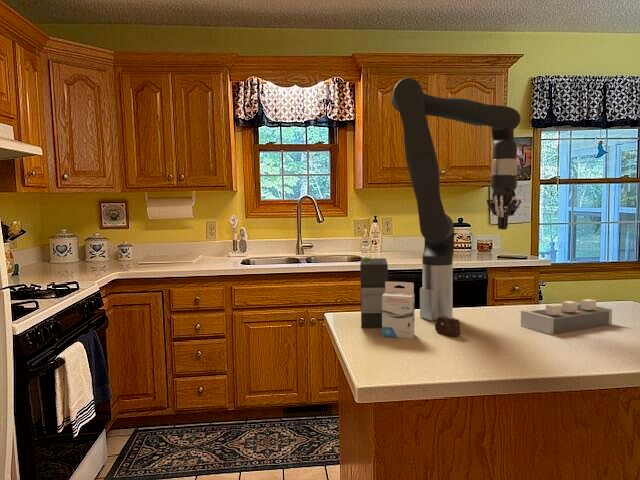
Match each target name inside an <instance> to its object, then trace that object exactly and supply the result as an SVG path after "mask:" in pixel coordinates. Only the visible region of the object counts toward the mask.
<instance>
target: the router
mask: <svg viewBox="0 0 640 480" xmlns="http://www.w3.org/2000/svg"><path fill="white" fill-rule="evenodd" d="M359 265H360V266H359V267H360V269H359V272H360V274H359V275H360V315H361V316H360V321H361V323H360V324H361V326H360V328H362V329H364V328H365V329H382V295H383V294H384V293H385V282H389V280H388V279H389V278H388V277H389V273H388V272H389V271H388V269H389V267H388V261H387V258H385V257H384V258H372V257H371V256H370V257H366V256H364V258H361V259H360V264H359Z"/></svg>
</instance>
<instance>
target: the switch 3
mask: <svg viewBox="0 0 640 480" xmlns="http://www.w3.org/2000/svg"><path fill="white" fill-rule="evenodd" d="M580 302H581V308H582V309H586V310H592V309H596V306H597V300H595V299H592V298H587V299H586V298H585V299H581V300H580Z"/></svg>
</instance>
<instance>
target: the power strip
mask: <svg viewBox="0 0 640 480" xmlns="http://www.w3.org/2000/svg"><path fill="white" fill-rule="evenodd" d="M608 325H613V308H610V307H606V306H601V305H596V309H592V310H586V309H582V308H581V301H579V302H577V311H574V312H566V311H562V306H561V314H558V315H550V314H546V308H544V309H537V310H531V311H528V310H525V309H524V310H523V309H522V310H520V326H521V327H523V328H525V329H526V328H527V329H528V330H533V331H537V332H539V333H543V334H547V335H554V334H555V335H556V334H560V333H566V332H573V331H579V330H584V329H590V328H596V327H597V328H598V327H603V326H608Z"/></svg>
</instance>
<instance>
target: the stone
mask: <svg viewBox="0 0 640 480" xmlns="http://www.w3.org/2000/svg"><path fill="white" fill-rule="evenodd" d="M434 329H435V332H437V333H438V334H442V335H444V336H445V335H446V336H447V337H458V336H460V335H461V324H460V320H459V319H457V318H455V319H454V318H452V319H451V318H448V317H446V316H441V317H438V318H437V321H436V323H435V325H434Z"/></svg>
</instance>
